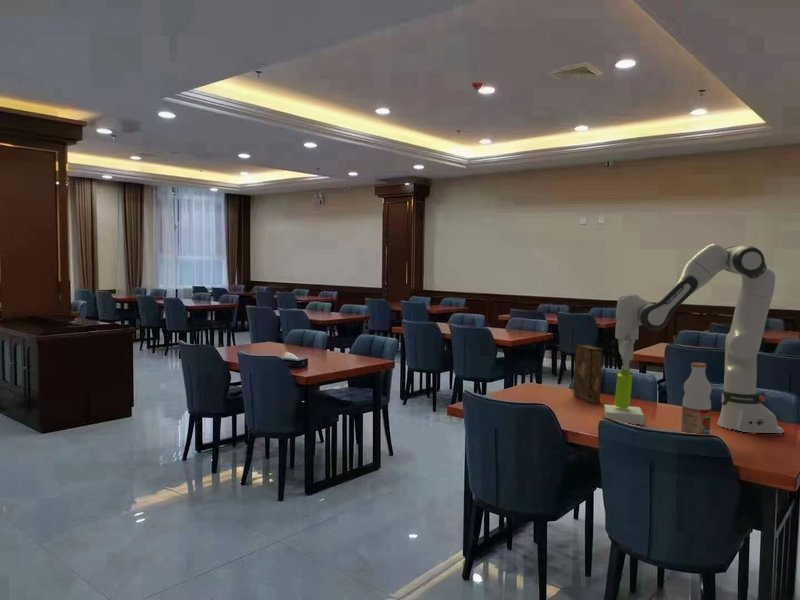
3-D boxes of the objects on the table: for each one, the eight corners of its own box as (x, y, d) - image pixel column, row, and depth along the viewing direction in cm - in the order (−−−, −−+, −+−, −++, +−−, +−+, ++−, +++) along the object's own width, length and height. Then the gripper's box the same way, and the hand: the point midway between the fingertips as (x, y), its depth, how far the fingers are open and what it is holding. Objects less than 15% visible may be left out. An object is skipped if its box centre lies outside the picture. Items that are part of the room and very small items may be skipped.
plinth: (639, 416, 249) (639, 407, 248) (643, 425, 235) (643, 415, 235) (603, 413, 252) (604, 404, 252) (606, 421, 239) (606, 412, 239)
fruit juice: (680, 434, 224) (683, 360, 222) (708, 437, 220) (712, 362, 218) (681, 440, 215) (685, 364, 213) (710, 444, 211) (714, 366, 210)
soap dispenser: (624, 401, 249) (629, 356, 245) (631, 408, 243) (636, 361, 239) (611, 401, 249) (615, 356, 245) (617, 408, 242) (622, 361, 238)
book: (601, 403, 272) (603, 349, 270) (590, 403, 271) (592, 349, 269) (584, 395, 288) (586, 344, 286) (573, 395, 287) (575, 344, 285)
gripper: (638, 337, 231) (636, 373, 232) (632, 332, 251) (631, 364, 251) (620, 337, 233) (619, 371, 233) (616, 331, 252) (615, 363, 253)
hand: (625, 368), depth 243 cm, fingers closed on soap dispenser, 4 cm apart
